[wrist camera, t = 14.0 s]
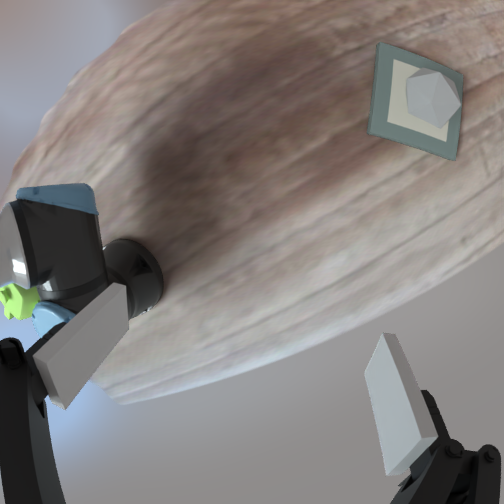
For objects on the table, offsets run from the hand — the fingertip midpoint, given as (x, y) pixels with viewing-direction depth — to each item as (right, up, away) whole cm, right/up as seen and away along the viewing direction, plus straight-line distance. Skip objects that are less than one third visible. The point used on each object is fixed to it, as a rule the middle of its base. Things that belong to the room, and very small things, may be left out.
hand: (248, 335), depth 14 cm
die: (+27, +28, +22) cm, 44 cm away
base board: (+27, +28, +24) cm, 46 cm away
